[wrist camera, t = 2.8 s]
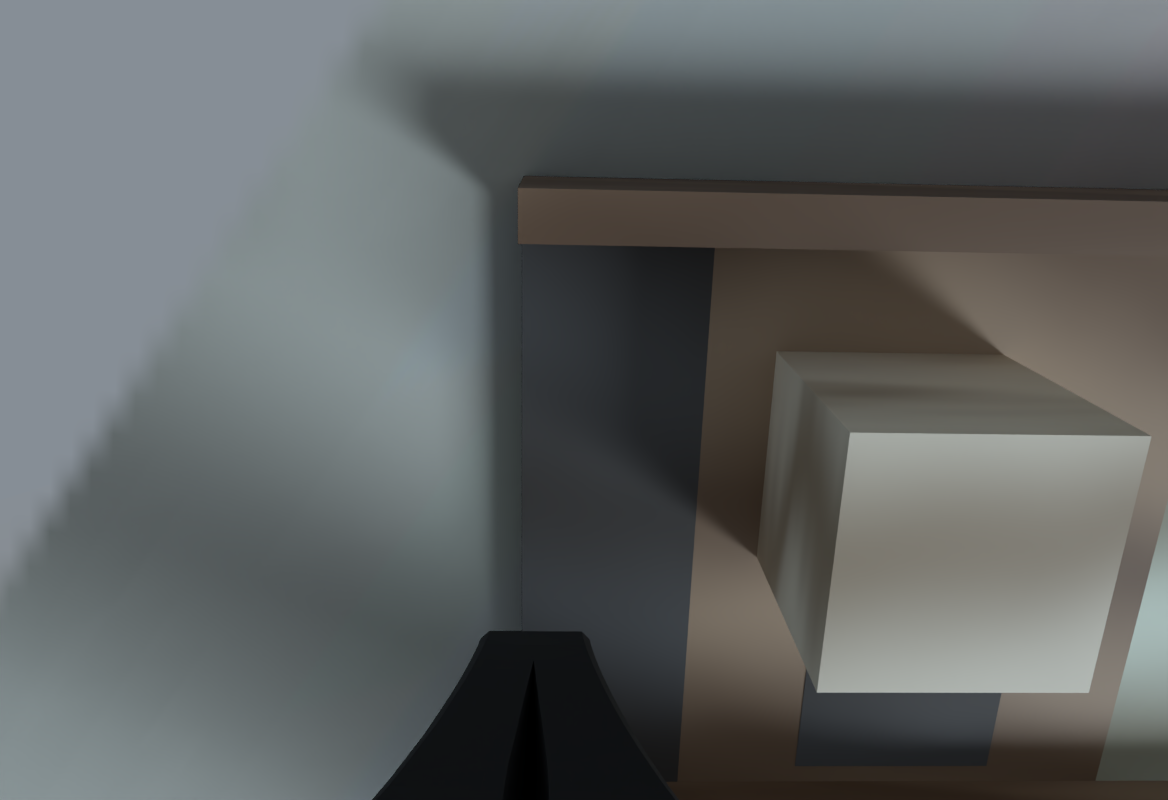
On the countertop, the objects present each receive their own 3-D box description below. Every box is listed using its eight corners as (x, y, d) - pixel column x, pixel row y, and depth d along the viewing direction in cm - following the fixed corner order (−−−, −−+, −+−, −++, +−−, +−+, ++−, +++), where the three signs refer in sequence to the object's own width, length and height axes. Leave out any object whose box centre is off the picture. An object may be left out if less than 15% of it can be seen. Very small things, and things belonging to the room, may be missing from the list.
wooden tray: (1346, 782, 24) (1451, 872, 22) (523, 784, 24) (518, 877, 21) (1563, 198, 19) (1737, 213, 16) (523, 176, 18) (517, 188, 16)
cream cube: (966, 558, 21) (1088, 692, 16) (756, 557, 20) (816, 693, 16) (1003, 354, 19) (1151, 435, 14) (776, 351, 19) (850, 433, 14)
